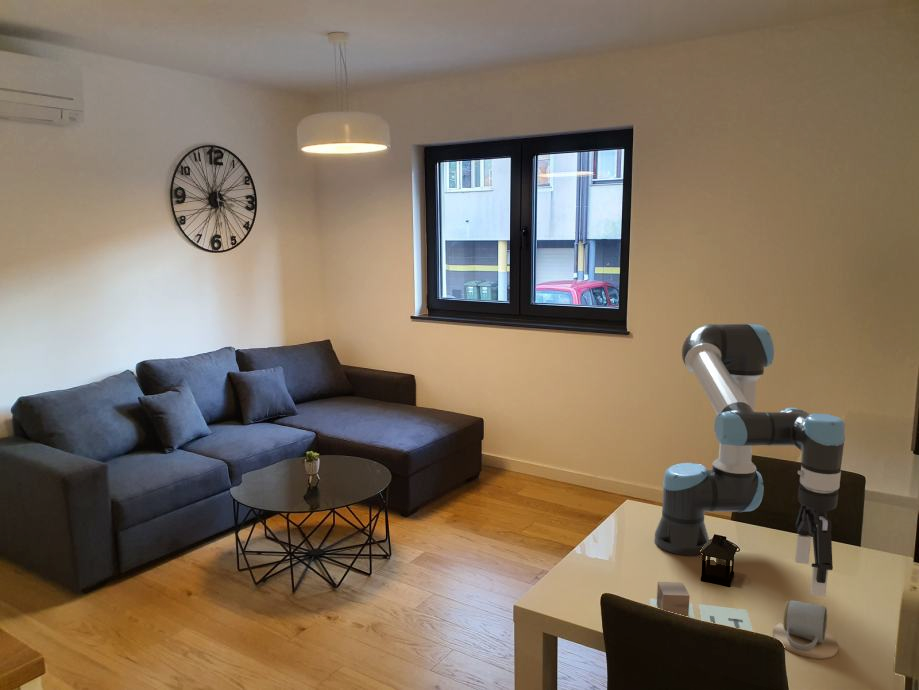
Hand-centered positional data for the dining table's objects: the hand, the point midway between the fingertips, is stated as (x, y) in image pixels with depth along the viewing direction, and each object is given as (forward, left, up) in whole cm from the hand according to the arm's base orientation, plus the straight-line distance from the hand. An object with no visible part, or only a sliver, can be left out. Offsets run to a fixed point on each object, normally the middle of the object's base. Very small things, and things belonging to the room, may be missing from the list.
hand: (809, 577), depth 148 cm
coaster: (0, 0, -15) cm, 15 cm away
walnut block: (-5, -28, -15) cm, 32 cm away
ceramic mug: (+1, 0, -15) cm, 15 cm away
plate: (-5, -28, -15) cm, 32 cm away
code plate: (-3, -16, -15) cm, 22 cm away
